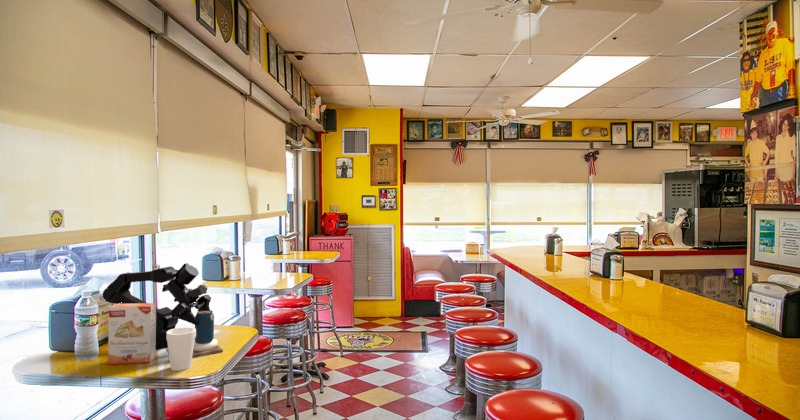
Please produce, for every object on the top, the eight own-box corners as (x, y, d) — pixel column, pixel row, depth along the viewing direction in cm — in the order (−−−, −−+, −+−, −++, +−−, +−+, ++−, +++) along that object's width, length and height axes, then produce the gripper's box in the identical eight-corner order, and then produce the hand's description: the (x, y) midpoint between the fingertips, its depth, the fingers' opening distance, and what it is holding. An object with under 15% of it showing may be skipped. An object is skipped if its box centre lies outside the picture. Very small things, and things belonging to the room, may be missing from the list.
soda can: (217, 340, 178) (218, 310, 178) (205, 345, 172) (205, 314, 171) (203, 338, 180) (203, 309, 180) (190, 343, 173) (191, 312, 173)
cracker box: (107, 365, 157) (107, 306, 157) (114, 359, 163) (115, 303, 163) (150, 363, 160) (150, 305, 160) (156, 357, 166) (156, 302, 166)
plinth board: (178, 360, 163) (178, 352, 163) (168, 349, 176) (168, 341, 176) (222, 351, 174) (222, 344, 174) (210, 341, 186) (210, 334, 186)
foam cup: (167, 364, 159) (167, 328, 159) (195, 361, 163) (196, 326, 163) (164, 373, 150) (165, 335, 150) (194, 370, 154) (195, 333, 154)
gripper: (178, 282, 167) (204, 313, 165) (207, 275, 185) (231, 303, 184) (159, 302, 168) (185, 333, 167) (190, 293, 187) (213, 320, 185)
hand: (205, 321), depth 176 cm, fingers open, 9 cm apart
